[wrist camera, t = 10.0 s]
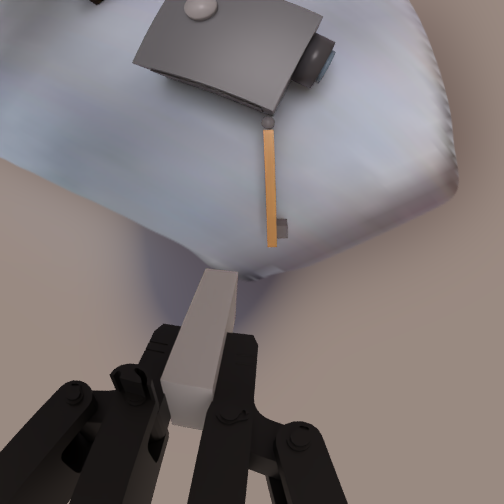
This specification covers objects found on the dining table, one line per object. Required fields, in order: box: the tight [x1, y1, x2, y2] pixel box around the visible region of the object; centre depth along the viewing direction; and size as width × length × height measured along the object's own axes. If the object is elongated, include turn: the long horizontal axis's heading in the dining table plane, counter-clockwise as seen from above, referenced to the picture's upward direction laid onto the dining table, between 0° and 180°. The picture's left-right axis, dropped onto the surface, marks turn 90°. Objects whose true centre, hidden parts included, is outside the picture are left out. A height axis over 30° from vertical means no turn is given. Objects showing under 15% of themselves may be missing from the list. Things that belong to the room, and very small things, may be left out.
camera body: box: [132, 0, 335, 116], centre depth 19 cm, size 14×9×9 cm, turn 66°
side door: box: [261, 116, 288, 247], centre depth 25 cm, size 11×2×5 cm, turn 3°
